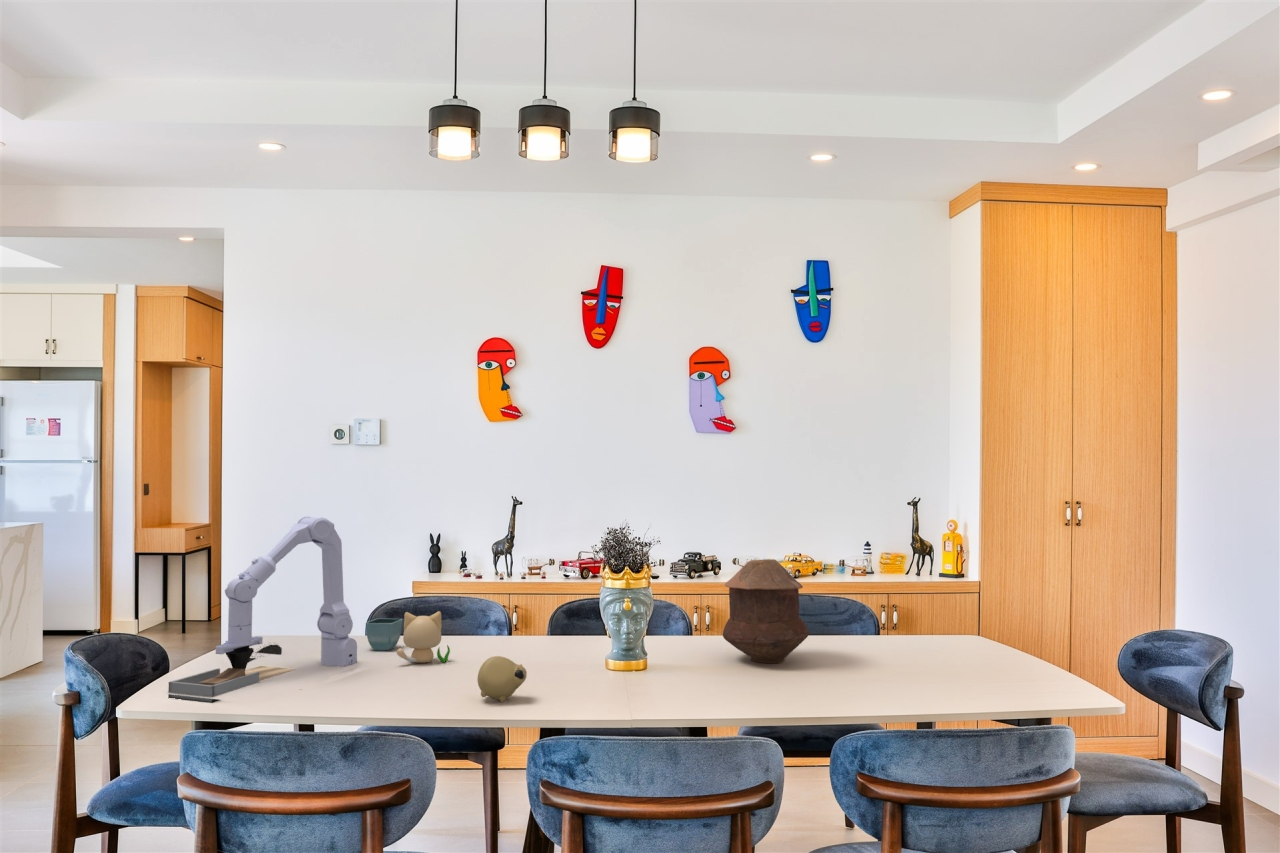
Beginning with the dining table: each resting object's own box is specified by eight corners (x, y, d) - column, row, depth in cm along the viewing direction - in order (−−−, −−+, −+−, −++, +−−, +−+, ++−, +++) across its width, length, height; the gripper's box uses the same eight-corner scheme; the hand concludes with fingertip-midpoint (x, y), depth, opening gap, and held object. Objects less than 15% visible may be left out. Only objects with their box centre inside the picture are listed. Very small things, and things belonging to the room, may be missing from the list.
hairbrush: (218, 663, 247) (261, 641, 272) (218, 677, 247) (261, 653, 272) (247, 664, 246) (287, 642, 271) (247, 677, 246) (287, 654, 271)
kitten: (450, 657, 266) (451, 607, 267) (449, 665, 256) (449, 613, 257) (399, 659, 264) (400, 609, 264) (396, 667, 254) (396, 614, 255)
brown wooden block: (246, 679, 231) (244, 669, 231) (232, 689, 227) (230, 678, 226) (230, 678, 233) (228, 667, 232) (216, 687, 228) (214, 677, 227)
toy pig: (524, 705, 214) (524, 660, 214) (474, 705, 214) (474, 660, 214) (528, 694, 224) (528, 652, 224) (480, 694, 224) (481, 652, 224)
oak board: (295, 674, 244) (295, 669, 244) (256, 687, 230) (256, 681, 230) (260, 671, 248) (260, 665, 248) (219, 683, 234) (219, 678, 234)
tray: (258, 687, 230) (259, 672, 230) (211, 703, 215) (212, 686, 215) (217, 683, 234) (217, 668, 234) (168, 698, 219) (168, 682, 219)
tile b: (229, 690, 225) (230, 678, 225) (217, 695, 220) (217, 683, 221) (212, 689, 226) (212, 677, 226) (199, 694, 221) (199, 682, 221)
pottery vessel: (802, 673, 247) (801, 565, 248) (713, 666, 255) (713, 562, 257) (814, 654, 271) (814, 556, 273) (733, 649, 280) (732, 554, 281)
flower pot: (376, 646, 283) (377, 617, 284) (402, 646, 282) (403, 618, 283) (364, 651, 275) (365, 622, 275) (391, 652, 273) (391, 623, 274)
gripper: (248, 619, 241) (247, 669, 241) (206, 628, 227) (205, 681, 227) (269, 620, 239) (268, 671, 238) (228, 630, 225) (227, 684, 225)
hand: (239, 676), depth 232 cm, fingers closed
